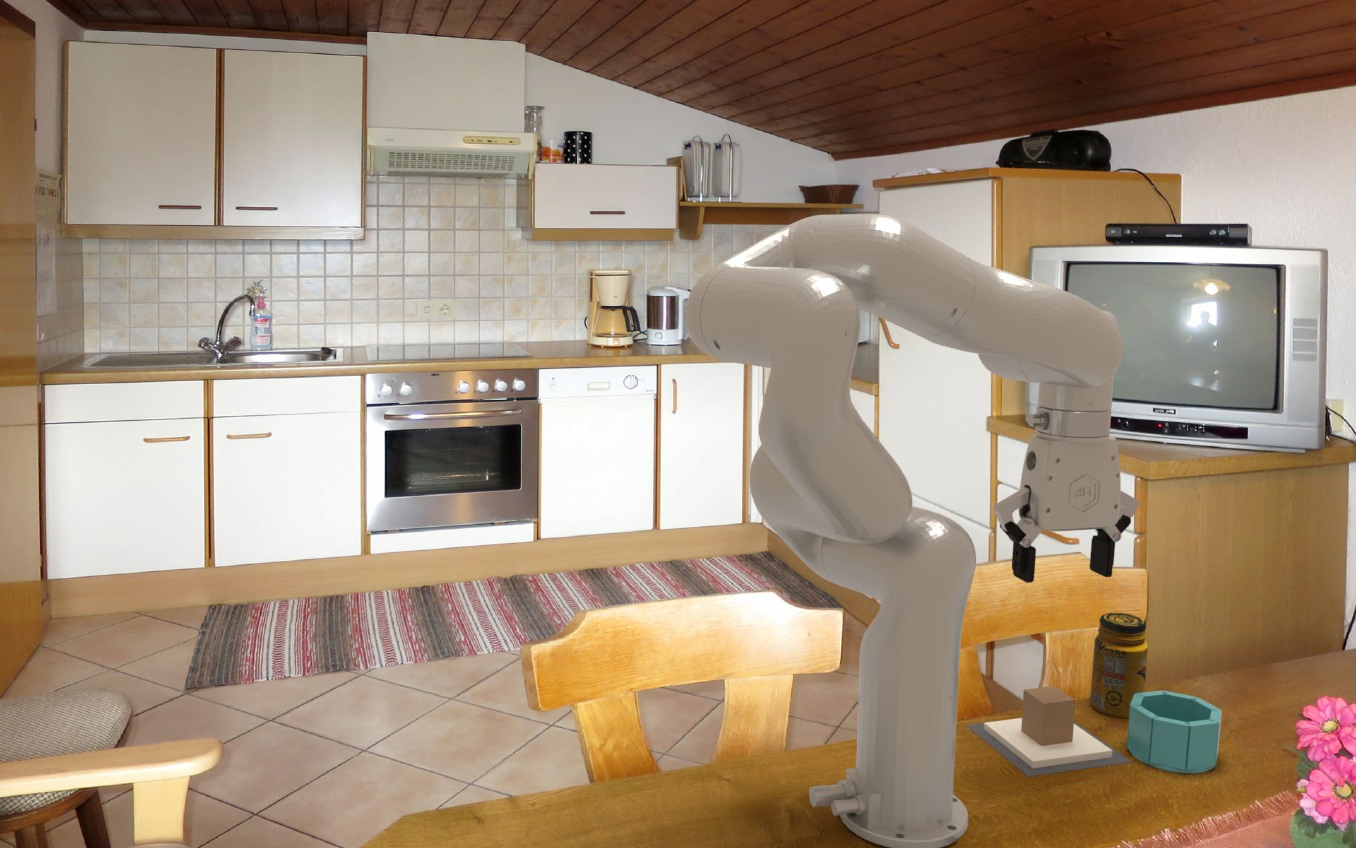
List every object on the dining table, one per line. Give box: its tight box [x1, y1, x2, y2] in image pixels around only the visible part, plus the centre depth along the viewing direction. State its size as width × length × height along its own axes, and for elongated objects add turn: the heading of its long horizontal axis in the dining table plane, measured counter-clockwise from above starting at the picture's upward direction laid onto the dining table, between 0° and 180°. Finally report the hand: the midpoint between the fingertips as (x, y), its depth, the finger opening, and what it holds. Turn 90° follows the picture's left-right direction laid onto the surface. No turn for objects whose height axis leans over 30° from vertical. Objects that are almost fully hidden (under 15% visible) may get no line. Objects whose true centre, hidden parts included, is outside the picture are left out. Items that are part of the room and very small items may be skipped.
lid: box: [983, 685, 1113, 768], centre depth 126 cm, size 10×10×6 cm
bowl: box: [1126, 690, 1223, 774], centre depth 123 cm, size 9×9×6 cm
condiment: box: [1089, 612, 1149, 719], centre depth 134 cm, size 7×8×12 cm
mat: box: [965, 721, 1133, 778], centre depth 126 cm, size 13×13×1 cm
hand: (1062, 576), depth 123 cm, fingers open, 9 cm apart
